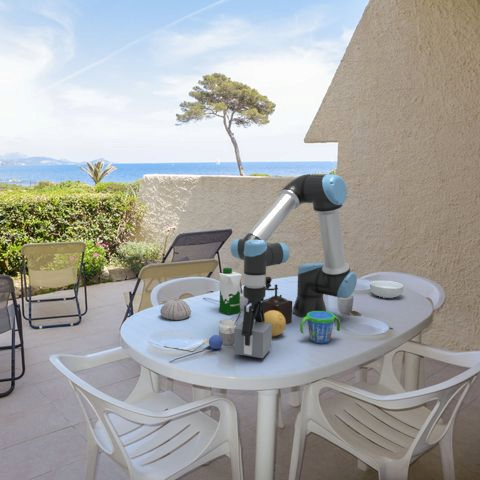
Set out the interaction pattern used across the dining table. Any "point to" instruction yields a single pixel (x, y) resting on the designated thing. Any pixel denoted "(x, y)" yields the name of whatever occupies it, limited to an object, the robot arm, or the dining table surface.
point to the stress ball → (275, 321)
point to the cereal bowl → (386, 288)
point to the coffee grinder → (278, 303)
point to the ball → (215, 341)
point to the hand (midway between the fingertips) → (253, 348)
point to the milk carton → (229, 292)
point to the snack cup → (320, 325)
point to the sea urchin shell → (175, 310)
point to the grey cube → (254, 339)
